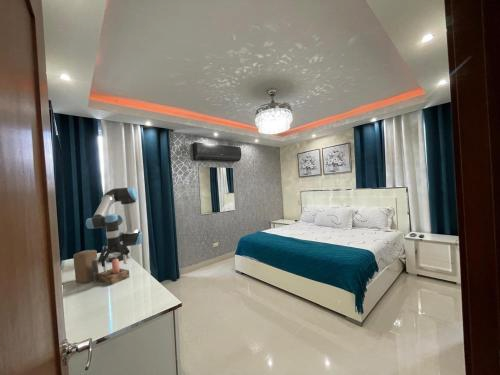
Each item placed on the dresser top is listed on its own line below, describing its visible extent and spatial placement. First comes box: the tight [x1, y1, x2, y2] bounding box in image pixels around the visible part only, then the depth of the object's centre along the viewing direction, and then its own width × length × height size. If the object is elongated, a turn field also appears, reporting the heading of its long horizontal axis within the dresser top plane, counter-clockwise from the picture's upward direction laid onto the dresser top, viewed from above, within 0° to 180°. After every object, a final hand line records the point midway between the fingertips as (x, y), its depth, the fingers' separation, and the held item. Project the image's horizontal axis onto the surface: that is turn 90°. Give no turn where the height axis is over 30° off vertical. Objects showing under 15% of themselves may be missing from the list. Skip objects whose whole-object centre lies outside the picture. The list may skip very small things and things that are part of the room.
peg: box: [111, 259, 120, 275], centre depth 153 cm, size 4×4×14 cm
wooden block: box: [73, 249, 100, 284], centre depth 156 cm, size 10×10×20 cm
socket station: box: [92, 252, 130, 285], centre depth 155 cm, size 16×19×16 cm
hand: (115, 267), depth 153 cm, fingers open, 13 cm apart
